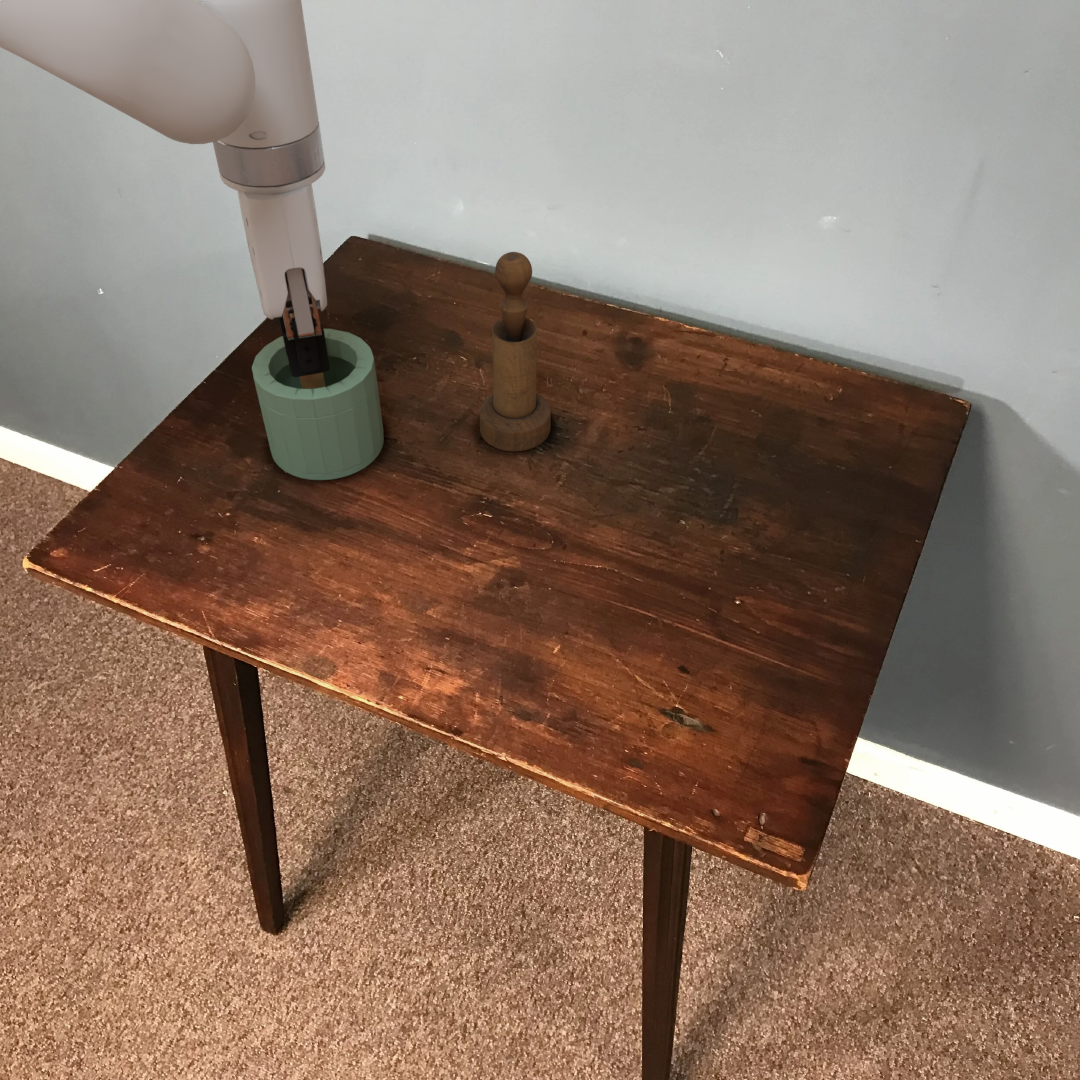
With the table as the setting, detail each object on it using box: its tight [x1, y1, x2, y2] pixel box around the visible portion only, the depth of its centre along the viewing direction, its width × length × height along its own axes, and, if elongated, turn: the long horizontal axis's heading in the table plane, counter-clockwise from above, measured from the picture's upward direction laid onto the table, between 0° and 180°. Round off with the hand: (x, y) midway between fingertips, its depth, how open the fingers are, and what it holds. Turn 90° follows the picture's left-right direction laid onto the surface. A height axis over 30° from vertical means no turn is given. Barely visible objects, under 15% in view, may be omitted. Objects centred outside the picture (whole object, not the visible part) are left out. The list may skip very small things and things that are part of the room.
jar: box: [251, 328, 385, 481], centre depth 92 cm, size 10×10×9 cm
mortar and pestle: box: [479, 251, 552, 453], centre depth 90 cm, size 7×6×18 cm
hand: (308, 361), depth 87 cm, fingers closed
